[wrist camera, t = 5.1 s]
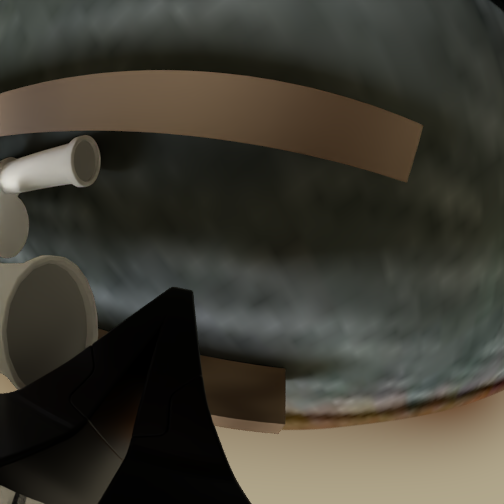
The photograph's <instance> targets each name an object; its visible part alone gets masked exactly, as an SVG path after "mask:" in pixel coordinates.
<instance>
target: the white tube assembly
mask: <svg viewBox="0 0 504 504" xmlns="http://www.w3.org/2000/svg"><path fill="white" fill-rule="evenodd" d="M100 165H101V157H100V151H99V148H98V145H97V143H96V142H95V140H94V139H93V138H92V137H91V136H88V135H83V136H79V137H76V138H74V139H73V140H72V141H70V143H69V144H65V145H61V146H58V147H54V148H50V149H47V150H44V151H40V152H37V153H34V154H31V155H27V156H24V157H21V158H18V159H16V158H14V157H8V158H5V159H3V160H1V161H0V257H1V258H11V257H14V256H16V255H17V254H18V253H19V252H20V251H21V250H22V248H23V247H24V245H25V243H26V240H27V237H28V231H29V218H28V213H27V210H26V207H25V205H24V204H23V202H22V200H21V199H19V198H18V197H17V196H18V195H19V194H20V193H22V192H27V191H32V190H38V189H43V188H49V187H55V186H61V185H67V184H73V185H74V186H76V187H87V186H90V185H92V184H93V183H94V182H95V180H96V179H97V177H98V174H99V171H100ZM97 340H98V315H97V310H96V305H95V299H94V295H93V293H92V290H91V288H90V285H89V283H88V280H87V278H86V277H85V276H84V274H83V273H82V271H81V270H80V269H79V267H78V266H77V265H76V264H74V263H73V262H71V261H70V260H68V259H67V258H65V257H60V256H52V255H42V256H39V257H36V258H34V259H31V260H28V261H26V262H25V263H1V262H0V373H2V374H3V375H5V376H6V377H8V379H9V380H10V381H11V382H12V383H13V385H14V386H15V387H16V388H17V389H18V390H19V389H21V388H23V387H25V386H27V385H29V384H30V383H32V382H34V381H35V380H37V379H39V378H41V377H42V376H44V375H46V374H47V373H49V372H51V371H53V370H54V369H56V368H58V367H59V366H61V365H62V364H64V363H66V362H67V361H69V360H70V359H72V358H73V357H75V356H76V355H77V354H79V353H80V352H82V351H83V350H84V349H86V348H87V347H89V346H90V345H91V346H92V344H93V343H94V342H96V341H97Z"/></svg>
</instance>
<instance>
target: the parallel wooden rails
mask: <svg viewBox="0 0 504 504" xmlns="http://www.w3.org/2000/svg"><path fill="white" fill-rule="evenodd" d="M422 129H423V125H421V124H419V123H417V122H414V121H412V120H410V119H407V118H405V117H402V116H400V115H397V114H395V113H392V112H389V111H387V110H384V109H381V108H378V107H375V106H372V105H370V104H367V103H363V102H360V101H357V100H354V99H351V98H347V97H344V96H341V95H337V94H333V93H330V92H326V91H322V90H318V89H314V88H310V87H305V86H301V85H296V84H291V83H286V82H281V81H276V80H270V79H264V78H258V77H251V76H243V75H235V74H226V73H215V72H202V71H181V70H141V71H121V72H108V73H98V74H90V75H82V76H75V77H68V78H63V79H57V80H52V81H47V82H42V83H38V84H33V85H29V86H25V87H21V88H17V89H14V90H10V91H7V92H4V93H0V136H6V135H15V134H26V133H38V132H55V131H133V132H151V133H165V134H177V135H187V136H196V137H205V138H213V139H221V140H228V141H235V142H241V143H247V144H253V145H259V146H265V147H270V148H276V149H281V150H286V151H291V152H296V153H300V154H305V155H309V156H314V157H318V158H322V159H326V160H330V161H334V162H338V163H342V164H346V165H350V166H353V167H357V168H361V169H364V170H368V171H371V172H374V173H378V174H381V175H384V176H388V177H391V178H394V179H397V180H400V181H403V182H406V183H407V180H408V177H409V174H410V171H411V168H412V164H413V161H414V158H415V154H416V151H417V147H418V144H419V140H420V136H421V132H422ZM106 333H108V331H105V330H102V329H99V328H98V339H100V338H101V337H102V336H104V335H105V334H106ZM200 359H201V367H202V374H203V375H202V377H203V380H204V387H205V393H206V398H207V403H208V407H209V410H210V413H211V417H212V420H213V423H214V426H219V427H225V428H231V429H238V430H245V431H254V432H264V433H274V434H279V432H280V431H281V429H282V428H283V427H284V425H285V369H284V368H276V367H268V366H261V365H254V364H247V363H241V362H235V361H229V360H223V359H218V358H213V357H207V356H202V355H200Z"/></svg>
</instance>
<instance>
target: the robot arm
mask: <svg viewBox="0 0 504 504" xmlns="http://www.w3.org/2000/svg"><path fill="white" fill-rule="evenodd" d="M492 1H493V2H495V3H496V4H497V5H498V6H500V7H501V8H502V9H503V10H504V0H492ZM202 375H203V374H202V367H201V359H200V351H199V343H198V335H197V326H196V316H195V306H194V295H193V291H192V290H188V289H183V288H178V287H171V288H169V289H168V290H166V291H165V292H164V293H162V294H161V295H159V296H158V297H157V298H155V299H154V300H152V301H151V302H150V303H148V304H147V305H145V306H144V307H143V308H141V309H140V310H138V311H137V312H136V313H134V314H133V315H131V316H130V317H129V318H127V319H126V320H124V321H123V322H122V323H120V324H119V325H117V326H116V327H115V328H113V329H112V330H111V331H109V332H108V333H106V334H105V335H104V336H102V337H101V338H100V339H98V340H97V341H96V342H94V343H93V344H92V346H91V345H90V346H89V347H87V348H86V349H84V350H83V351H82V352H80V353H79V354H77V355H76V356H75V357H73V358H72V359H70V360H69V361H67V362H66V363H64V364H62V365H61V366H59V367H58V368H56V369H54V370H53V371H51V372H49V373H47V374H46V375H44V376H42V377H41V378H39V379H37V380H35V381H34V382H32V383H30V384H29V385H27V386H25V387H23V388H21V389H19V390H17V391H14V392H10V393H4V394H0V504H251V503H250V501H249V499H248V498H247V497H246V495H245V493H244V492H243V490H242V489H241V487H240V485H239V484H238V482H237V480H236V478H235V476H234V474H233V472H232V470H231V468H230V466H229V463H228V461H227V458H226V455H225V453H224V450H223V448H222V445H221V442H220V440H219V437H218V434H217V432H216V429H215V426H214V423H213V420H212V417H211V413H210V410H209V407H208V403H207V398H206V393H205V387H204V380H203V377H202Z"/></svg>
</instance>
